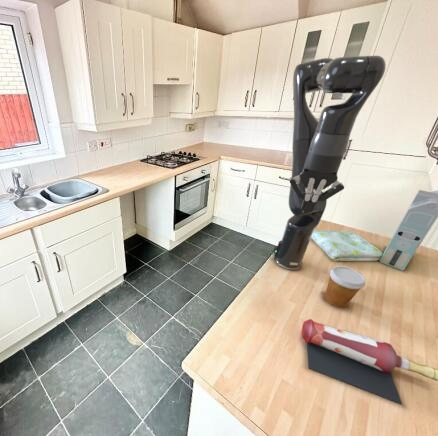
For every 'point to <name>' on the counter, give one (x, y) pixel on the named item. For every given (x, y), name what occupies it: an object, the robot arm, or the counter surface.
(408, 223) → the device
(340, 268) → the disposable coffee cup
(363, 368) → the mat
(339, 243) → the towel
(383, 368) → the liquor
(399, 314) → the counter surface
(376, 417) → the counter surface
